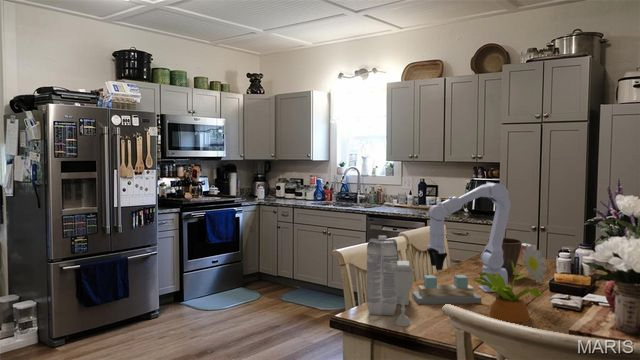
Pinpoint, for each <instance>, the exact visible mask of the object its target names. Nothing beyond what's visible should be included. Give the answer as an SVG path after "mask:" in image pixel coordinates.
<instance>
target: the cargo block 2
mask: <svg viewBox="0 0 640 360" xmlns="http://www.w3.org/2000/svg"><path fill="white" fill-rule="evenodd" d="M468 281H469V278H468V276H467V275H465V274H454V276H453V285H454V286H455V287H457V288H468V285H469V282H468Z"/></svg>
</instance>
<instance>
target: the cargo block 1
mask: <svg viewBox="0 0 640 360" xmlns="http://www.w3.org/2000/svg"><path fill="white" fill-rule="evenodd" d="M423 285H424V286H425V287H426V288H437V285H438V277H437V276H436V275H433V274H431V275H428V274H427V275H423Z"/></svg>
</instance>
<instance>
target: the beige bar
mask: <svg viewBox="0 0 640 360" xmlns="http://www.w3.org/2000/svg"><path fill="white" fill-rule="evenodd" d="M417 287H418V290H417V291H418V293H419V294H420V295H421V297H436V296H474V292H475V288H474V287H473V286H472V285H470V284H468V288H457V287H455V286H454V284H437V288H426V287H425V286H424V284H423V285H418V286H417Z"/></svg>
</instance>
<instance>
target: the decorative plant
mask: <svg viewBox="0 0 640 360" xmlns="http://www.w3.org/2000/svg"><path fill="white" fill-rule="evenodd" d="M527 244H528V243H526V251H525V250H524V249H523V250H522V251H523V254H524V258H523V260H524V261H525V264H526V267H525V266H522V267H521V268H520V269H519V270H518V271H517V272H516V267H514V264H513V262H512V261H511V264H512V268H513V271H514V272H513V274H514V277H513V280H512V283H511V285H509V286H508V287H506V284H505V281H504V279H503V278H502V277H501V276H500V275H499V274H498V273H497V274H493V275H492V274H490V273H486V272H483V271H482V272H480V273H481V274H480V275H479V277H478V278H477V277H475V278H474V280H473V282H475V283H478V285H479V284H480V285H481V286H482V285H487V286H488V287H489V288H491V292H492V293H496V294H497V296H496V298H495V300H494V301H493V303H492V304H491V305H490V308H489V309H490V310H489V312H488V315H489V317H490V318H493V319H494V318H496V319H495V320H497V319H500V320H499V321H501V320H504V321H503V322H506V321H508V323H524V322H527V321H530V318H531V317H530V311H529V308H528V307H527V305H526V304H525V303H524V299H523V298H521V297H522V296H524V295H527V294H528V293H530V294H531V295H533V296H534V297H535V298H536V299H538V298H539V297H541V296H543V293H542V292H539V291H538V288H536V287H534V288H525V289H523V290H522V291H520V292H519V293H517V294H514V292H513V289H514V283H515V280H520V279H523V278H524V277H526V274H521V275H519V276H517V275H518V274H520V272H521V271H522V270H524V268H525V270H526V271H528V274H529V278H532V279H534V280H535V282H536V283H538V282H539V283H540V284H543V281H542V280H544V279H545V278H546V275H545V274H546V272H547V271H548V269H547V267H545V266H546V264H545V262H546V257H544V256H543V254H542V251H541V250H538V249H537V248H536V250H535V252H534V246H535V245H534V244H533V243H531V244H530V245H531V246H530V249H529V247H528V245H527ZM484 275H486V276H487V277H488V279H489V281H490V282H491V283H490V282H489V281H487V280H486V279H485V278H484V277H483V276H484ZM494 276H496V277H494ZM496 278H497V279H496ZM482 280H484V282H483V281H482ZM485 281H486V282H487V283H486V282H485ZM489 284H490V285H489ZM491 292H490V293H491Z"/></svg>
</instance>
